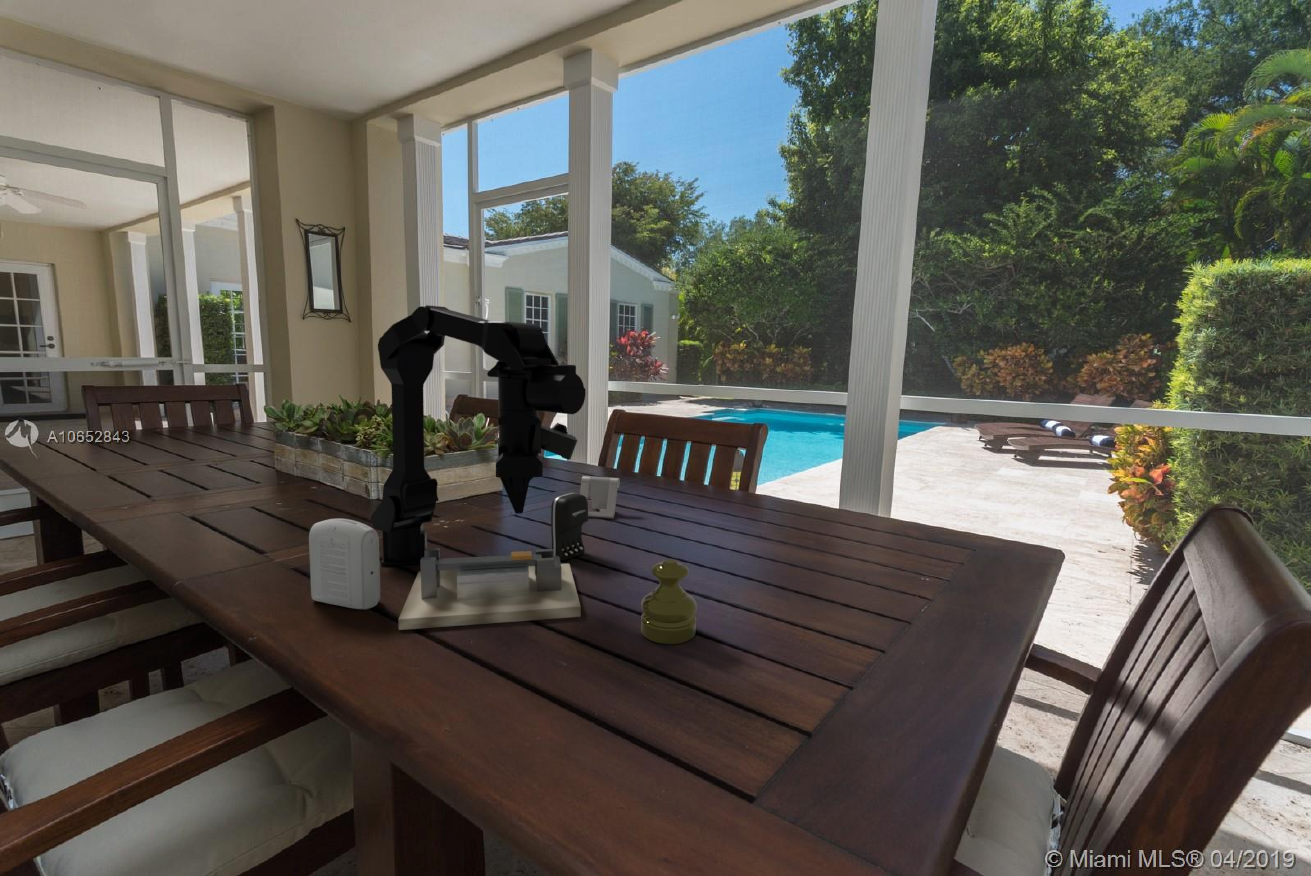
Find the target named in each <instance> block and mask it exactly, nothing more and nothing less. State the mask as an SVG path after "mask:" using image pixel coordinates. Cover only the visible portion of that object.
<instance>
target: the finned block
mask: <svg viewBox="0 0 1311 876" xmlns="http://www.w3.org/2000/svg"><path fill="white" fill-rule="evenodd" d="M522 596H529V567H528V566H525V567H504V568H484V569H463V570H459V571H458V575H457V601H460V600H476V599H491V598H507V597H522Z"/></svg>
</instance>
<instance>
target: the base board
mask: <svg viewBox="0 0 1311 876" xmlns="http://www.w3.org/2000/svg"><path fill="white" fill-rule="evenodd" d="M528 567H529V596H522V597H507V598H491V599H476V600H460V601H457V575H458V571H459V570H443V571H440V587H437V598H432V599H421V570H420V571H418V572H417V574H416V578H415V579H414V582H413V583H412V586H411V589H410V591H409V593H408V596H407V598H406V600H405V603H404V605H403V607H402V610H401V611H400V615H399V617H398V631H403V630H416V629H417V630H418V629H419V630H420V629H430V628H431V629H432V628H443V627H445V628H446V627H447V628H448V627H455V626H456V627H458V626H470V625H471V626H474V625H485V624H495V623H496V624H497V623H499V624H500V623H512V622H513V623H515V622H525V621H539V620H553V619H554V620H555V619H567V618H581V617H582V616H581V613H582V611H581V609H582V608H581V607H582V606H581V603H580V599H579V595H578V592H577V588H576V584H575V580H574V577H573V573H572V569H571V565H570V563H561V590H558V591H543V592H537V582H536V576H535V566H528Z"/></svg>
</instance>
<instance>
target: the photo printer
mask: <svg viewBox="0 0 1311 876" xmlns="http://www.w3.org/2000/svg"><path fill="white" fill-rule="evenodd" d="M379 538H380V537H379V534H378V532H377V531H376V529H374V528H372V527H371V526H369V525H367V524H365V523H363V522H360V521H357V520H353V519H349V518H329V519H325V520H322V521H318V522H316V523H314V524H313V525H312V526H311V528H310V530H309V534H308V549H309V569H310V571H309V572H310V595H311V599H312V600H313V601H315V602H320V603H324V604H329V605H335V606H340V607H345V608H349V609H353V610H355V609H356V610H369V609H371V608H374V607H375V606H377V605H378V603H379V601H380V600H381V574H380V573H381V572H380V571H381V569H380V568H381V567H380V566H381V561H380V539H379Z"/></svg>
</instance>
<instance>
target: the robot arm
mask: <svg viewBox="0 0 1311 876" xmlns="http://www.w3.org/2000/svg"><path fill="white" fill-rule="evenodd" d="M426 332H427V333H426ZM446 337H448V338H452V339H455V340H459V341H462V342H466V343H469V344H472V345H475V346H477V347H480V348H481V350H482V351H483V352H484V353H485V354H486V355H487V356H489V357H491V358H492V359H495V360H496V361H497V362H496V364H495V365H494V366H493V367H492V368H490V369H489V370H488V371H487V373H486V376H487V377H489V378H497V379H498V380H497V386H498V387H497V388H498V389H497V390H498V392H497V393H498V397H497V398H498V399H497V401H498V402H497V404H498V405H497V406H498V416H497V420H498V421H497V425H498V446H497V448H498V449H497V454H498V455H497V458H496V460H495V478H497V479H500V481H501V483H502V487H503V488H504V490H505V492H506V495H507V497H508V500H509V501H510V505H511V506H512V509H513V511H514V513H515V514H523V513H524V509H525V506H526V505H525V504H526V499H527V494H528V489H529V486H530V485H529V484H530V482H531V480H533V479H534V478H540V477H543V475H544V474H543V473H544V472H543V470H544V469H543V467H544V466H543V464H544V463H543V460H542V458H541V457H540V456H539V454H542V450H543V451H546V452H548V453H552V454H555V455H558V456H560V457H561V458H562V459H566V460H569V461H570V460H571V459H572V457H573V453H574V451H575V449H576V446H577V442H578V439H577V437H576V436H574V435H573V434H568V427H567V426H566V425H564V424H562V423H559V422H557V423H555V424H554V425H553V426H552V427H550V426H545V425H543V424H542V419H541V417H540V416H539V412H542V413H553V414H554V413H555V414H564V415H565V414H566V415H575V414H577V413H579V412H580V410H581V409H582V408H583V406H584V403H585V400H586V387H584V386H585V385H584V383H583V380H582V378H581V376H579V374H578V373H577V366H576V364H559V362H558V360H557V358H556V356H555V355H554V353H553V351H552V349H551V348H550V345H549V344H548V342H547V341H546V339H545V335H544V333H543V328H542V327H540V325H538V324H536V323H528V322H527V323H526V322H516V321H515V322H514V321H504V320H503V321H500V320H499V321H496V320H495V321H493V320H488V319H485V318H481V317H477V316H474V315H470V314H466V313H462V312H458V311H455V310H451V309H449V308H448V307H446V306H441V305H440V306H437V305H427V304H425V305H424V304H423V305H421V306H419V307H417V308H416V309H415V310H414V311H413V312H412V313H411V314H410V315H408V316H407V317H404V318H403V319H401V320H398V321H397V322H395V323H393V324H392V325H391V326H390V327H389V328H388V329H387V330H386V331H385V332H384V333H383V335H382V336H381V337H379V339H378V342H377V350H378V351H377V352H378V355H379V363H380V365H379V366H380V368H381V370H382V372H383V373H384V375H385V376H386V378H387V380H388V381H389V383H390V385H391V386H390V387H391V420H392V421H391V423H392V424H391V425H392V427H391V428H392V429H391V430H392V434H391V435H392V469H391V472H390V473H389V475H388V477H387V478H386V480H385V482H384V483H383V489H382V498H381V502H380V503H379V504H378V506H377V507H376V508H375V510H374V511H373V513H372V514H371V515H370V520H371V523H372V527H373V528H372V529H374V530H379V531H381V535H382V554H383V555H382V556H383V557H382V560H381V561H380V566H394V565H395V566H397V565H398V566H400V565H415V564H417V565H418V564H420V560H421V558H425V549H427V548H428V532H427V530H426V529H425V530H424V524H425V523H426V524H427V523H431V522H432V521H433V516H434V512H435V509H436V507H437V502H438V501H439V497H438V483H439V482H438V480H437V478H434V477H433V478H432V477H431V475H430V474H429V473H428V472H427V470H426V467H425V466H426V465H425V419H424V417H425V416H424V415H425V413H424V410H425V409H424V387H425V386H424V385H425V383H426V381H427V379H428V378H429V376H430V374H431V373H432V371H433V369H434V360H435V359H434V358H435V355H436V354H437V352H439V350H441V348H443V347H444V345H445V340H446Z"/></svg>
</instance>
